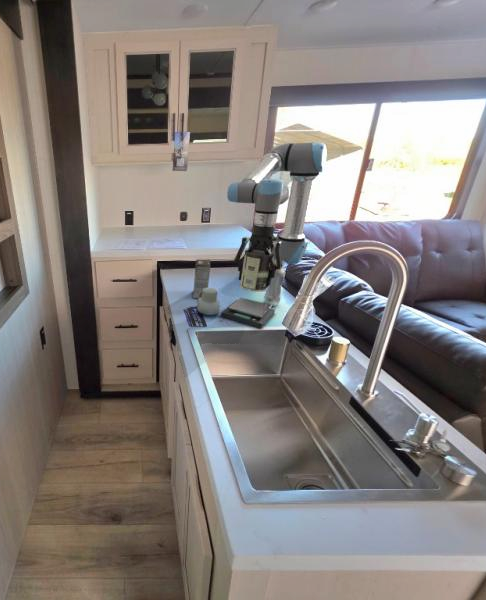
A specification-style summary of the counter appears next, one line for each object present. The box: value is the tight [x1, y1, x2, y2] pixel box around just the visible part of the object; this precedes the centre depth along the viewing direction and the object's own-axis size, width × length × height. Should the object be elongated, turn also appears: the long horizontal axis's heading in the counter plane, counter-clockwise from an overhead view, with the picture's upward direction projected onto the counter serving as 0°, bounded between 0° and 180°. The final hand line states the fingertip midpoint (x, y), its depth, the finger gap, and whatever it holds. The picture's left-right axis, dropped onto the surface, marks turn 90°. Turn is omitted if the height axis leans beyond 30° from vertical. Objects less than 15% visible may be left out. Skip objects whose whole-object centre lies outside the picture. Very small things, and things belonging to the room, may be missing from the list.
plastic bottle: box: [263, 259, 286, 307], centre depth 133 cm, size 6×7×20 cm
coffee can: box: [239, 248, 274, 293], centre depth 121 cm, size 10×10×14 cm
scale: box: [220, 299, 276, 330], centre depth 127 cm, size 16×16×2 cm
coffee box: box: [192, 259, 211, 300], centre depth 144 cm, size 9×6×16 cm
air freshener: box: [196, 287, 221, 316], centre depth 128 cm, size 11×8×10 cm
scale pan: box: [227, 297, 273, 319], centre depth 127 cm, size 13×13×1 cm
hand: (254, 282), depth 123 cm, fingers closed on coffee can, 10 cm apart
